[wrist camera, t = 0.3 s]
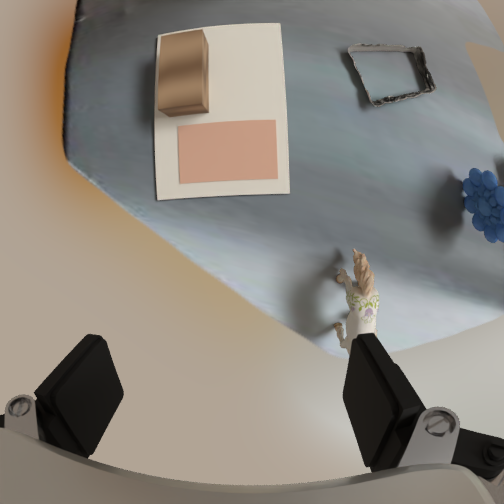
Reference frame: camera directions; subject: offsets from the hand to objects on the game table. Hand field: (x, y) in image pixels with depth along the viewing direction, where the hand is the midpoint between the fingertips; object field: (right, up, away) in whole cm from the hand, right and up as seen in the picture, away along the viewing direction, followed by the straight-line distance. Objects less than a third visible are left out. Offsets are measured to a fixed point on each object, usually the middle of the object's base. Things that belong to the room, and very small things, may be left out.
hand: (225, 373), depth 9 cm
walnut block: (-8, +28, +23) cm, 37 cm away
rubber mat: (-4, +24, +24) cm, 35 cm away
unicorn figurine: (+19, -4, +32) cm, 37 cm away
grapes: (+38, +13, +27) cm, 48 cm away
